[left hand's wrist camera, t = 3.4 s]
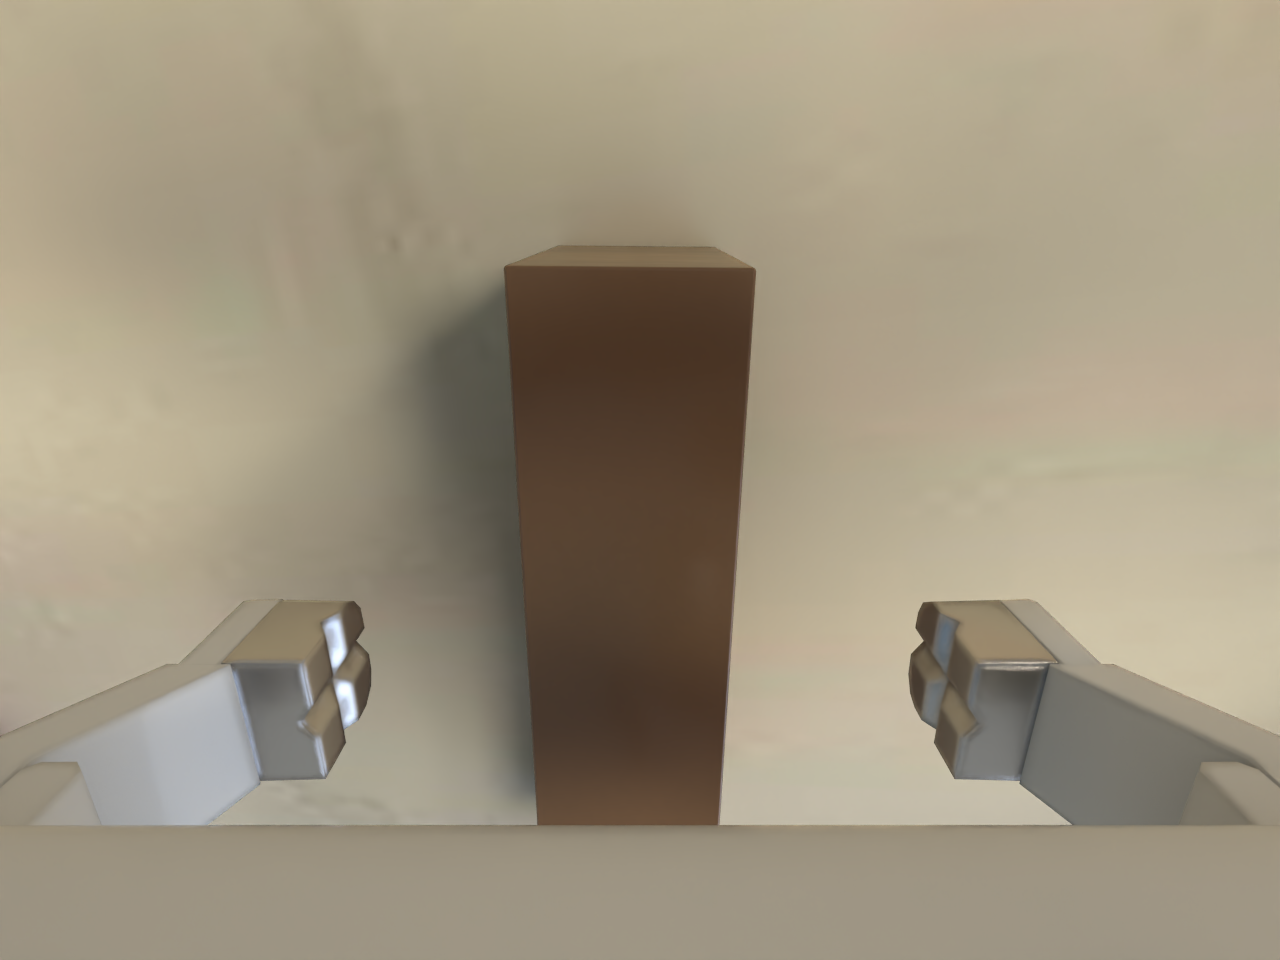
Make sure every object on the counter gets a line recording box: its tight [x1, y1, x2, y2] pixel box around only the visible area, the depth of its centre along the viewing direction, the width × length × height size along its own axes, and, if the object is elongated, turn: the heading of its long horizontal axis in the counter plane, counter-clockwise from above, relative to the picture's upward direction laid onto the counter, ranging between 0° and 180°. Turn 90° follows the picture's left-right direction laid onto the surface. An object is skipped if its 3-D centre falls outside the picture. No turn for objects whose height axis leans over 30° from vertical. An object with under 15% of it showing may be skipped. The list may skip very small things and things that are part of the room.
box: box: [504, 246, 756, 825], centre depth 27 cm, size 28×6×10 cm, turn 0°
